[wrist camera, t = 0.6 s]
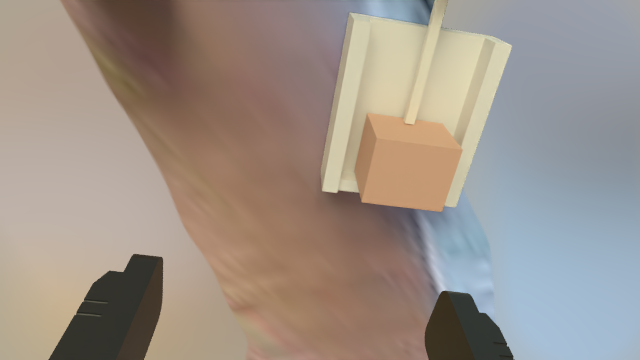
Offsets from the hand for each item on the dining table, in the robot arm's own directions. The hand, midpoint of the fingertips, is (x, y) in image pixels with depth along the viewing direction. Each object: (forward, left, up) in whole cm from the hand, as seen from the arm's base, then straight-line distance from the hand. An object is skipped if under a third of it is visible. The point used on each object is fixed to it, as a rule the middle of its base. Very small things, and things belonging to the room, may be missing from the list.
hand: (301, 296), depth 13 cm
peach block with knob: (-2, +8, -24) cm, 25 cm away
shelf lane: (+2, +8, -25) cm, 26 cm away
